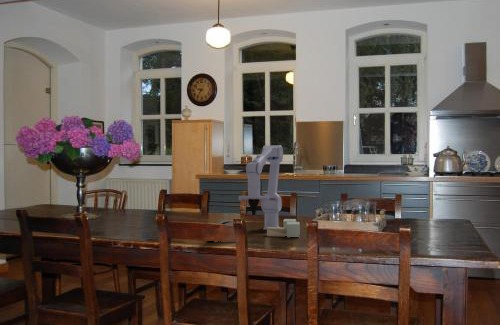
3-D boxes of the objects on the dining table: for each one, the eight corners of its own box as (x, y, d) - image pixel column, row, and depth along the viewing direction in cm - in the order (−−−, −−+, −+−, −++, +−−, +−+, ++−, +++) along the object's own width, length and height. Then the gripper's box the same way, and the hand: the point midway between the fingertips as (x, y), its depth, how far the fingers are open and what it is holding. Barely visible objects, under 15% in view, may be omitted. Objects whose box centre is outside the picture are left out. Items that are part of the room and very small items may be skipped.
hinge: (224, 236, 232) (230, 217, 230) (232, 240, 230) (239, 221, 228) (205, 242, 217) (211, 221, 215) (213, 246, 215) (220, 226, 213)
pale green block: (284, 231, 248) (284, 218, 247) (295, 231, 247) (295, 219, 247) (283, 233, 240) (283, 221, 239) (295, 234, 239) (295, 221, 239)
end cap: (287, 234, 237) (287, 221, 237) (299, 234, 237) (299, 221, 237) (286, 237, 229) (286, 224, 229) (299, 237, 229) (299, 224, 229)
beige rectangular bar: (267, 235, 237) (267, 227, 237) (296, 235, 236) (296, 227, 236) (267, 236, 233) (267, 228, 233) (296, 237, 232) (296, 228, 232)
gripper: (237, 187, 232) (237, 215, 232) (268, 187, 230) (268, 216, 230) (239, 186, 239) (239, 214, 239) (269, 186, 237) (269, 214, 237)
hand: (253, 215), depth 235 cm, fingers closed
